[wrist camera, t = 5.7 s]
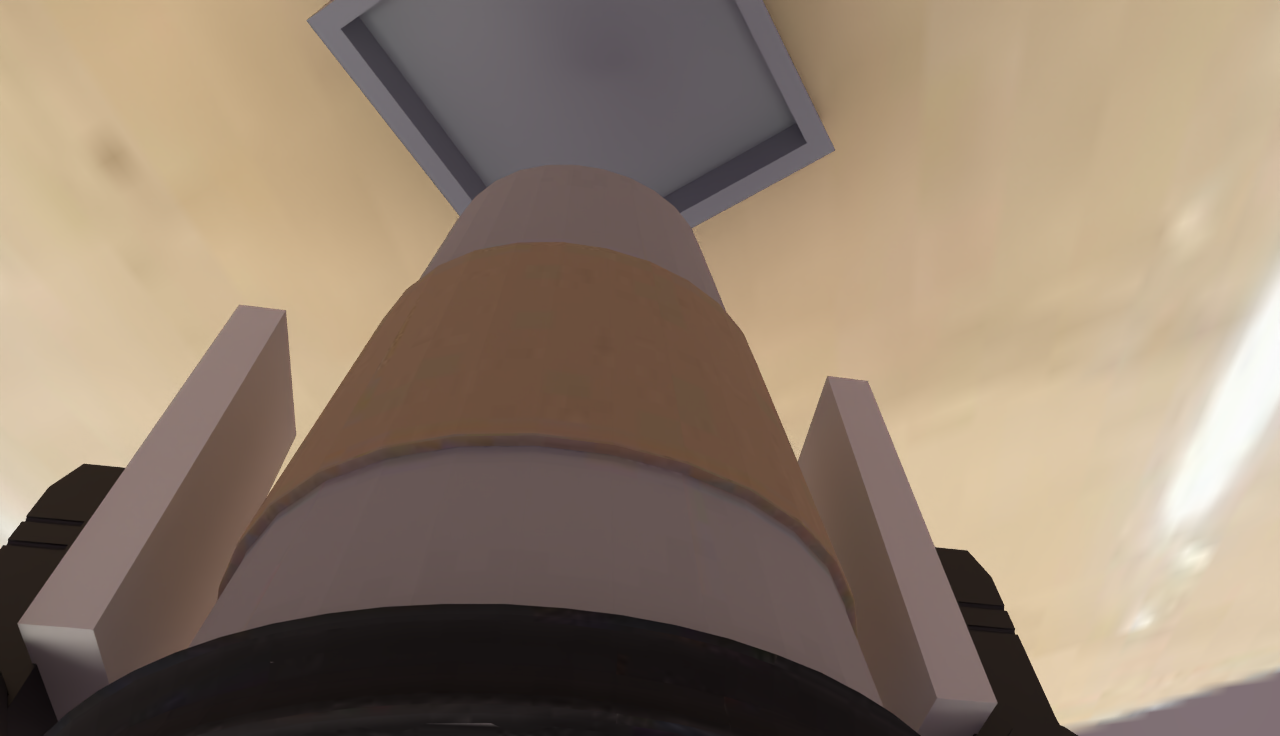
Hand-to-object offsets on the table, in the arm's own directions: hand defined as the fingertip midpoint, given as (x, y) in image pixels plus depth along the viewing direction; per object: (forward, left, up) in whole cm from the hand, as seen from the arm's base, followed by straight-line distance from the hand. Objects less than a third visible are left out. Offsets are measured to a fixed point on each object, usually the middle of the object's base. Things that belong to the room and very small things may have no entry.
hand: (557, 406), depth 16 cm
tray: (0, 0, -22) cm, 22 cm away
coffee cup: (0, 0, -5) cm, 5 cm away
